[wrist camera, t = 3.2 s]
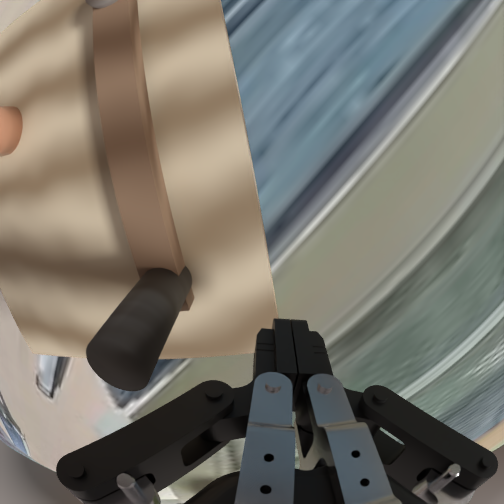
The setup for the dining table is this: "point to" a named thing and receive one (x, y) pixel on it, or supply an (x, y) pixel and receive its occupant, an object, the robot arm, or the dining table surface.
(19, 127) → the peach rounded cube
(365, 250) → the dining table surface
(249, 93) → the dining table surface
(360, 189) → the dining table surface
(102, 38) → the lever
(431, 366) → the dining table surface
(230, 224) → the board
